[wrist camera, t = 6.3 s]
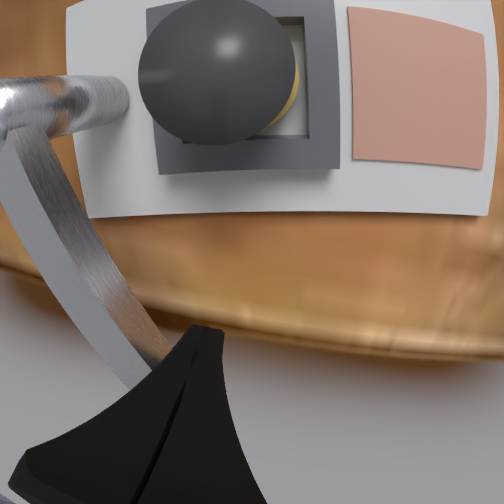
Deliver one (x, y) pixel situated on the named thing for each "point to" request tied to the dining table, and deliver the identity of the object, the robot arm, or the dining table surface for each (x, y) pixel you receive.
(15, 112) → the retention clip
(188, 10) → the plug
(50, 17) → the dining table surface
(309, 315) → the dining table surface
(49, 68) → the dining table surface
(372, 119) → the pad
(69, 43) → the dock board
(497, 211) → the dining table surface
